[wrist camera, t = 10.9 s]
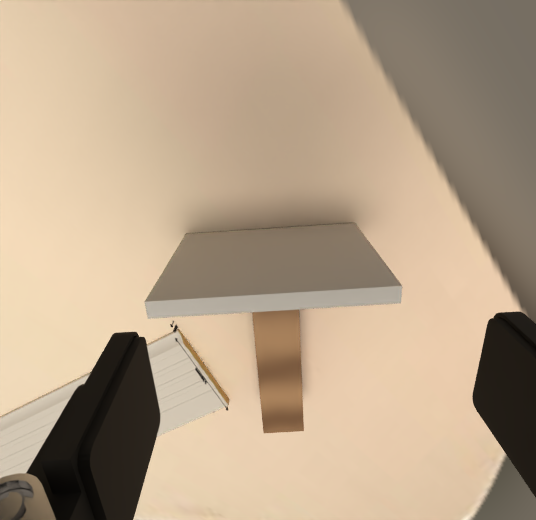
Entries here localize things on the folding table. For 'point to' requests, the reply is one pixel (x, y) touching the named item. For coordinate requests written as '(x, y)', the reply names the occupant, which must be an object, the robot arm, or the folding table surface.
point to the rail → (279, 369)
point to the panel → (272, 272)
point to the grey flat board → (52, 404)
